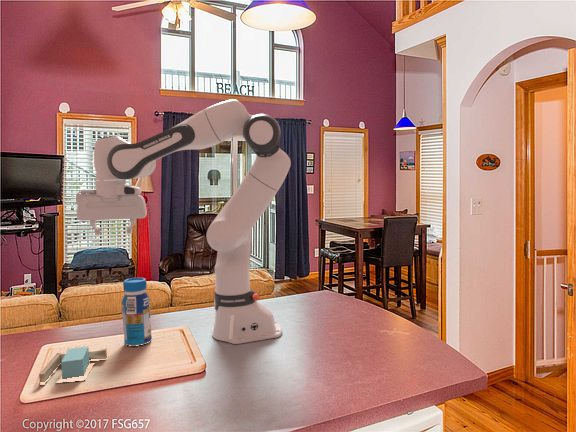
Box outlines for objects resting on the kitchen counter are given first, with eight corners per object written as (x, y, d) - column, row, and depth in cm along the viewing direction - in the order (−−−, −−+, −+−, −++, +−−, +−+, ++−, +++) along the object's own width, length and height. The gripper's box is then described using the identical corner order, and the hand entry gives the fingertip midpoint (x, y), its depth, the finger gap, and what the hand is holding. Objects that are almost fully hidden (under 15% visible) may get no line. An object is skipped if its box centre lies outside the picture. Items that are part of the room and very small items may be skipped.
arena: (107, 358, 126) (106, 348, 126) (95, 380, 113) (94, 368, 112) (57, 363, 124) (57, 353, 123) (39, 385, 110) (39, 374, 110)
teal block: (83, 378, 113) (82, 359, 113) (62, 380, 112) (61, 361, 112) (89, 363, 122) (88, 346, 122) (69, 366, 121) (68, 348, 120)
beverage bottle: (119, 343, 138) (115, 280, 136) (143, 335, 144) (140, 275, 142) (132, 350, 132) (128, 284, 130) (157, 341, 138) (154, 279, 136)
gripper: (72, 190, 131) (75, 236, 133) (143, 188, 135) (146, 233, 136) (78, 190, 138) (81, 234, 139) (146, 188, 141) (148, 231, 143)
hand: (113, 233), depth 138 cm, fingers open, 8 cm apart
